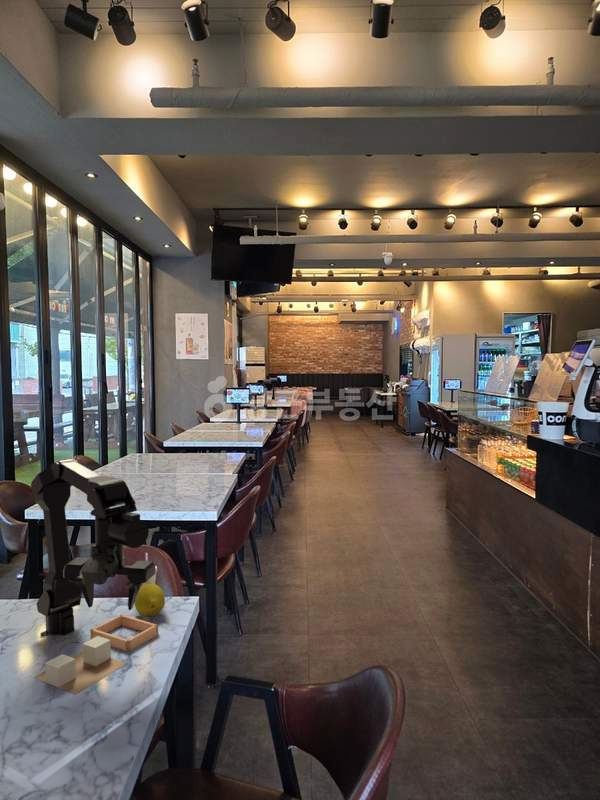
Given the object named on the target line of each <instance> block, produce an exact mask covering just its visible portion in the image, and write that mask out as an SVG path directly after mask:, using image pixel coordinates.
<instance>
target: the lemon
mask: <svg viewBox="0 0 600 800" xmlns="http://www.w3.org/2000/svg"><path fill="white" fill-rule="evenodd" d="M165 598H166V596H165V593H164V591H163V589H162V588H161V587H160V586H159V585H158V584H156V583H155V584H146V585H144V586H142V587H141V588H140V590H139V592H138V595H137V597H136V600H135V602H134V607H135V609H136V612H137V613H138V614H139V615H141V616H142V617H146V618H148V617H151V618H152V617H154V616H156V615H158V614H159V613H161V611H162V610H163V609H164V607H165V605H166V604H165V603H166V599H165Z"/></svg>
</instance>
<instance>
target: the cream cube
mask: <svg viewBox="0 0 600 800" xmlns="http://www.w3.org/2000/svg"><path fill="white" fill-rule="evenodd" d="M111 647H112V646H110V640H109V639H106V638H103V637H100V636H97V637H95V638H93V639H91V638H90V639H89V640H87V641H85V642H83V643H82V651H83V662H85V663H88V664H91V665H93V666H97V665H99V664H101V663H103V662H104V661H106V660H108V659H110V658H112V654H111V653H112V652H111V649H112V648H111Z"/></svg>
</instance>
